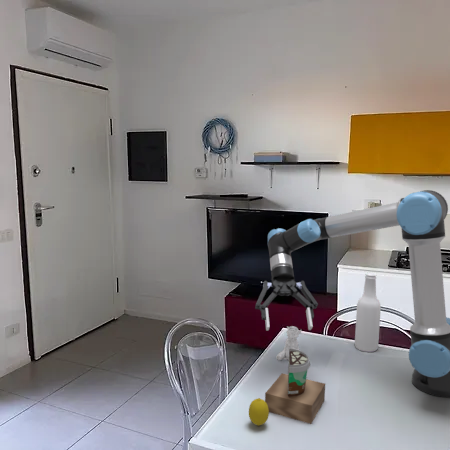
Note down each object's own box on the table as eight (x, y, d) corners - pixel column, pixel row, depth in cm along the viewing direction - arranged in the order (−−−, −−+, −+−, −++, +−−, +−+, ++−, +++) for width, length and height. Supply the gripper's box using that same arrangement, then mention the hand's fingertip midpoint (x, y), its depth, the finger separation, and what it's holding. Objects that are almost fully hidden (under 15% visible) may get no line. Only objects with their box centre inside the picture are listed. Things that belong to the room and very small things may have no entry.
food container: (309, 400, 129) (311, 367, 127) (287, 398, 130) (289, 365, 128) (307, 379, 141) (309, 349, 139) (287, 378, 142) (289, 347, 140)
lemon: (254, 433, 122) (254, 405, 121) (245, 422, 127) (245, 395, 126) (272, 428, 125) (272, 401, 123) (262, 418, 130) (263, 391, 128)
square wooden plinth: (324, 402, 140) (325, 383, 139) (311, 425, 127) (312, 405, 126) (281, 390, 146) (281, 373, 145) (264, 412, 133) (265, 393, 133)
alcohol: (351, 343, 182) (355, 270, 178) (372, 343, 183) (376, 270, 179) (359, 353, 174) (364, 276, 169) (381, 352, 175) (387, 276, 170)
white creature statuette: (275, 360, 166) (276, 329, 165) (280, 351, 175) (281, 321, 173) (301, 364, 164) (302, 332, 162) (305, 354, 172) (306, 324, 170)
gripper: (315, 275, 159) (325, 332, 147) (244, 275, 158) (248, 333, 145) (320, 264, 153) (331, 323, 141) (246, 264, 152) (251, 324, 139)
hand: (289, 328), depth 143 cm, fingers open, 13 cm apart
